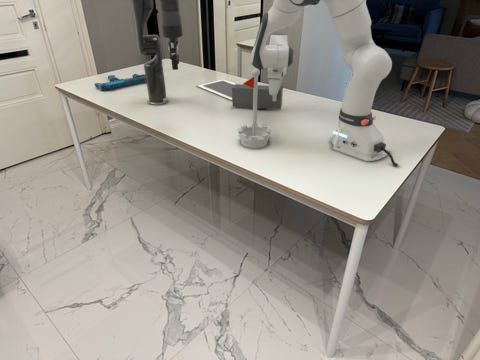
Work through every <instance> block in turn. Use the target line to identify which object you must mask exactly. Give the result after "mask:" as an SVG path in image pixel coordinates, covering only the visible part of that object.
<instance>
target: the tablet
mask: <svg viewBox="0 0 480 360" xmlns="http://www.w3.org/2000/svg"><path fill="white" fill-rule="evenodd" d="M235 84H237V83H236V82H233V81H230V80H228V79H225V78H222V79H219V80H214V81H211V82H210V81H209V82H207V83H203V84H198V85H197V88H200V89H202V90H205V91H208V92H209V93H212V94H214V95H217V96H219V97H221V98H224V99H226V100H229V101H232V87H233V86H234V85H235Z"/></svg>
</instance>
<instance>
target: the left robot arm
mask: <svg viewBox="0 0 480 360" xmlns="http://www.w3.org/2000/svg"><path fill="white" fill-rule="evenodd" d="M131 6H132V12H133V18H134V23H135V34H136V35H135V36H136V44H137V45H136V46H137V50H138V53H139V55H140V56H141V57H149V56H154V57H153V58H152V59H150V60H148V61H145V63H144V64H143V70H144V75H145V76H146V81H145V83H146V89H147V95H148V103H149V104H150V105H154V106H159V105H165V104H166V103H167V102H168V97H167V89H166V81H165V73H164V66H163V58H162V56H163V55H162V45H161V39H160V37H159V35H158V34H147V35H146V34H145V33H144V32H145V27H146V25H147V22H148V20H149V18H150V16H151V14H152V11H153V9H154V0H131ZM159 7H160V8H159V9H160V21H161V23H160V24H161V29H162V30H161V32H162V36H163V37H164V38H165V39H169V40H168V42H167V46H168V52H169V59H170V60H171V68H172V70H173V71H178V70H179V64H180V57H179V54H180V52H179V51H180V41H179V40H178V39H179V38H182V37H183V25H182V15H181V10H180V0H159ZM144 34H145V35H144Z"/></svg>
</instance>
